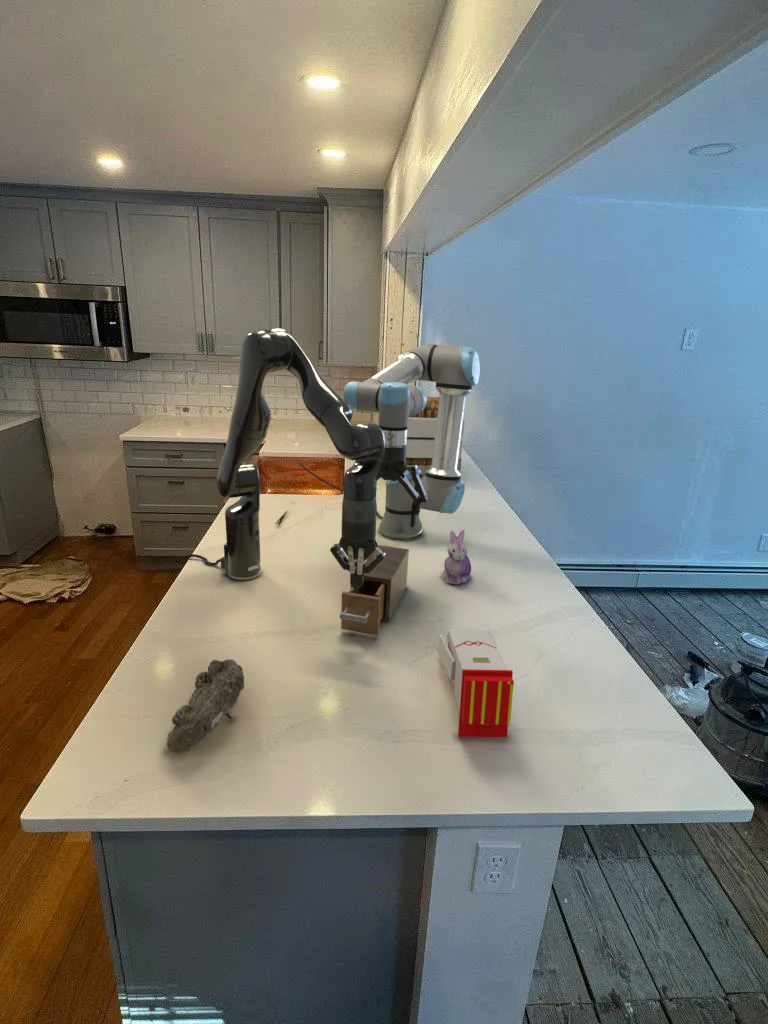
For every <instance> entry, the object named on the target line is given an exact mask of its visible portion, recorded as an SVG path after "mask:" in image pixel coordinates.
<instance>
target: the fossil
mask: <svg viewBox="0 0 768 1024" xmlns="http://www.w3.org/2000/svg"><path fill="white" fill-rule="evenodd" d="M243 670H244V669H243V667H242V665H240V664H237V662H236V661H235V660H234V659H232V658H231V659H227V658H226V659H224V660H223V661H222V660H217V659H212V660H211V661H210V663H209V665H208V666H207V671H201V672H199V673H198V674H197V675H196V676H195V680H194V684H195V685H194V687H195V689H194V690H193V693H192V694H191V697H190V698H189V700H188V704H184V705H182V706H181V707H180V709H177V710H176V711H175V713H174V715H173V716H172V718H171V723H172V724H173V727H172V730H171V731H170V732H168V734H167V738H166V741H167V742H166V745H167V749H168V750H169V751H173V752H174V753H176V754H178V753H182V752H188V751H189V752H192V751H193V750H195V748H196V747H197V746H199V744H200V743H201V742H203V741H204V740H205V739H206V738H207V737H208V736H209V735H210V734H211V733H212V732H214V730H215V729H217V727H218V726H219V724H220V722H221V721H222V720H223V719H224V718H225V716H226V717H227V719H229V720H233V717H232V715H230V714H229V710H230V709H231V708H234V706H235V704H236V703H237V702H238V699H239V697H240V695H241V693H242V691H243V690H245V689H244V688H245V675H244V671H243Z"/></svg>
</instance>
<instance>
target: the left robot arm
mask: <svg viewBox="0 0 768 1024" xmlns="http://www.w3.org/2000/svg"><path fill="white" fill-rule="evenodd" d="M239 361H240V363H239V375H238V383H237V389H236V395H235V401H234V406H233V409H232V413H231V418H230V423H229V430H228V435H227V439H226V444H225V448H224V451H223V455H222V457H221V459H220V463H219V466H218V469H217V473H216V474H217V475H216V487H217V491H218V493H219V494H220V496H222V497H223V498H225V499H226V498H227V499H233V498H234V499H235V498H239V499H238V500H237V501H235V502H234V503H233V504H231V505H228V507H227V508H226V509H225V511H224V520H225V538H226V542H225V543H223V556H222V557H221V558H219V559H217V560H216V561H215V562H211V561H208V558H207V557H204V556H203V555H201V554H200V555H199V554H194V553H193V554H189V555H187V556H186V557H185V559H187V560H189V559H190V558H198V559H200V560H203V561H204V563H205V564H206V565H209V566H217V565H218V564H219V563H220V569H222V570H224V573H225V576H228V577H229V578H230V579H232V580H236V581H250V580H253V579H256V578H258V577H260V575H261V574H262V566H261V538H260V537H261V533H260V510H261V475H260V471H259V468H258V466H257V465H256V464H255V463H254V462H253V461H245V460H247V458H248V457H249V456H251V455H252V454H253V453H254V452H255V451H256V450H257V449H258V448H259V447H260V446H261V445H262V444H263V442H264V441H265V439H266V437H267V436H268V435H267V434H268V431H269V428H270V423H271V418H272V412H271V408H270V406H269V403H268V402H267V400H266V398H265V396H264V394H263V385H264V381H265V378H266V376H267V375H268V374H270V373H274V372H279V371H283V370H286V371H287V372H289V373H290V374H292V375H293V376H294V377H295V378H296V380H297V381H298V384H299V387H300V393H301V398H302V401H303V404H304V406H305V408H306V409H307V411H308V412H309V413H310V414H311V416H313V417H314V418H315V419H316V421H317V422H318V423H319V424H321V426H322V427H323V428H324V429H325V430H326V433H327V435H328V436H329V438H330V441H331V442H332V444H333V446H334V448H335V450H336V451H337V453H339V455H341V456H342V457H343V458H345V459H347V460H349V461H354V463H353V465H352V466H351V467H349V468H348V469H347V470H345V472H344V475H343V490H344V491H343V492H342V494H343V495H342V496H343V497H342V503H341V537H340V538H339V542H338V543H334V544H333V545H332V546H331V547H330V548H329V550H330V553H331V555H332V556H333V557H334V558H335V560H336V561H337V563H338V564H339V566H340V567H341V569H342V570H344V571H348V572H349V574H350V576H349V584H350V586H351V585H352V587H353V588H356V589H359V588H360V587H361V586H362V585H363V583H364V573H367V574H368V573H370V572H371V571H372V570H373V569H374V568H375V567H376V566H377V565H378V564H379V563H380V562H381V561H382V560H383V558H384V557H385V555H386V552H385V551H381V550H380V549H379V548H378V547H377V545H378V542H377V539H376V535H377V517H378V516H377V512H378V504H377V503H378V502H377V483H378V480H377V475H378V472H379V469H380V466H381V462H382V459H383V455H384V451H385V437H384V433H383V431H382V429H381V428H380V427H379V426H378V423H374V422H364V423H358V424H353V423H352V422H351V421H352V419H353V416H354V413H353V409H351V407H350V406H349V405H348V404H347V403H346V402H345V401H344V398H343V397H342V396H341V395H339V394H338V392H336V391H335V390H334V388H333V387H332V386H330V385H329V383H328V382H327V381H326V380H325V379H324V378H323V377H322V375H321V374H320V373H319V371H318V370H317V368H316V367H315V365H314V364H313V362H312V361H311V360H310V358H309V357H308V355H307V353H306V352H305V351H304V349H303V348H302V347H301V346H300V344H299V343H298V341H297V340H296V339H295V337H294V336H293V335H292V334H291V333H290V332H289V331H288V330H287V329H285V328H281V327H273V328H267V329H265V328H264V329H260V330H255V331H252V332H249V333H248V334H247V335H246V336H245V337H244V339H243V342H242V345H241V352H240V360H239ZM376 480H377V481H376ZM373 552H374V553H375V554H374V558H375V559H374V560H373V561H372V562H371V563H370V564H369V565H366V561H367V558H368V557H369V556H370V555H371V554H372V553H373Z"/></svg>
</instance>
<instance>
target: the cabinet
mask: <svg viewBox="0 0 768 1024" xmlns="http://www.w3.org/2000/svg"><path fill="white" fill-rule="evenodd" d="M377 547H378V548H379V549H380V550H381V551H385V552H386V555H385V557H384V558H383V560H382V561H381V562H380V563H379V564H378V565H377V566H376V567H375V568H374V569H373V570H372V571H371V572H370V573H368V574H367V573H364V580H369V581H376V582H382V583H387V591H386V611H385V613H384V615H383V617H382V619H381V622H382V621H383V622H388V623H389V622H390V621H391V619H392V617H393V615H394V613H395V611H396V609H397V607H398V605H399V603H400V601H401V599H402V597H403V594H404V593H405V591H406V589H407V583H408V567H409V552H410V549H409V548H403V547H396V546H388V545H382V544H377ZM374 554H375V553H374V552H373V553H372V554H371V555H370V556H369V557H368V558H367V561H366V565H369V564H370V563H371V562H372V561H373V560H374V559H375V558H374ZM351 587H352V585H351V584H350V589H351ZM350 589H349V590H350Z"/></svg>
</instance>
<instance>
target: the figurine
mask: <svg viewBox="0 0 768 1024" xmlns="http://www.w3.org/2000/svg"><path fill="white" fill-rule="evenodd" d="M455 533H456V532H454V531H453V530H450V531H449V541H450V544H449V545H448V548H447V554H448V556H447V557H446V558H445V560H444V564H443V565H444V569H443V575H442V576H443V579H444V580H445V582H446V583H447V584H450V585H451V584H452V585H460V584H464V583H466V582H468V580H469V579H470V576H471V573H472V563H471V560H470V558H469V557H468V555H467V553H468V550H467V547H466V545H465V542H464V539H465V535H466V534H465V533H466V532H465V530H464V529H462V530H460V531H459V534H458V535H456V534H455Z"/></svg>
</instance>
